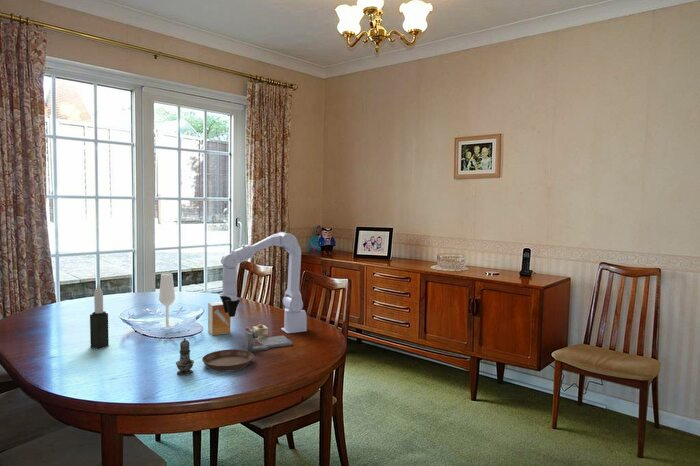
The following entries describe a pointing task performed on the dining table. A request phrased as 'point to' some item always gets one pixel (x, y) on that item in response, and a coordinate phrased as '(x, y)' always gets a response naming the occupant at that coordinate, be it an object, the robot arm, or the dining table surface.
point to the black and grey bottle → (99, 322)
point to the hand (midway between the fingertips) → (229, 314)
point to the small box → (218, 319)
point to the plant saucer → (227, 360)
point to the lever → (255, 333)
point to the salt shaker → (184, 359)
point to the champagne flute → (167, 294)
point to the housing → (261, 331)
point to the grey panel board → (266, 342)
